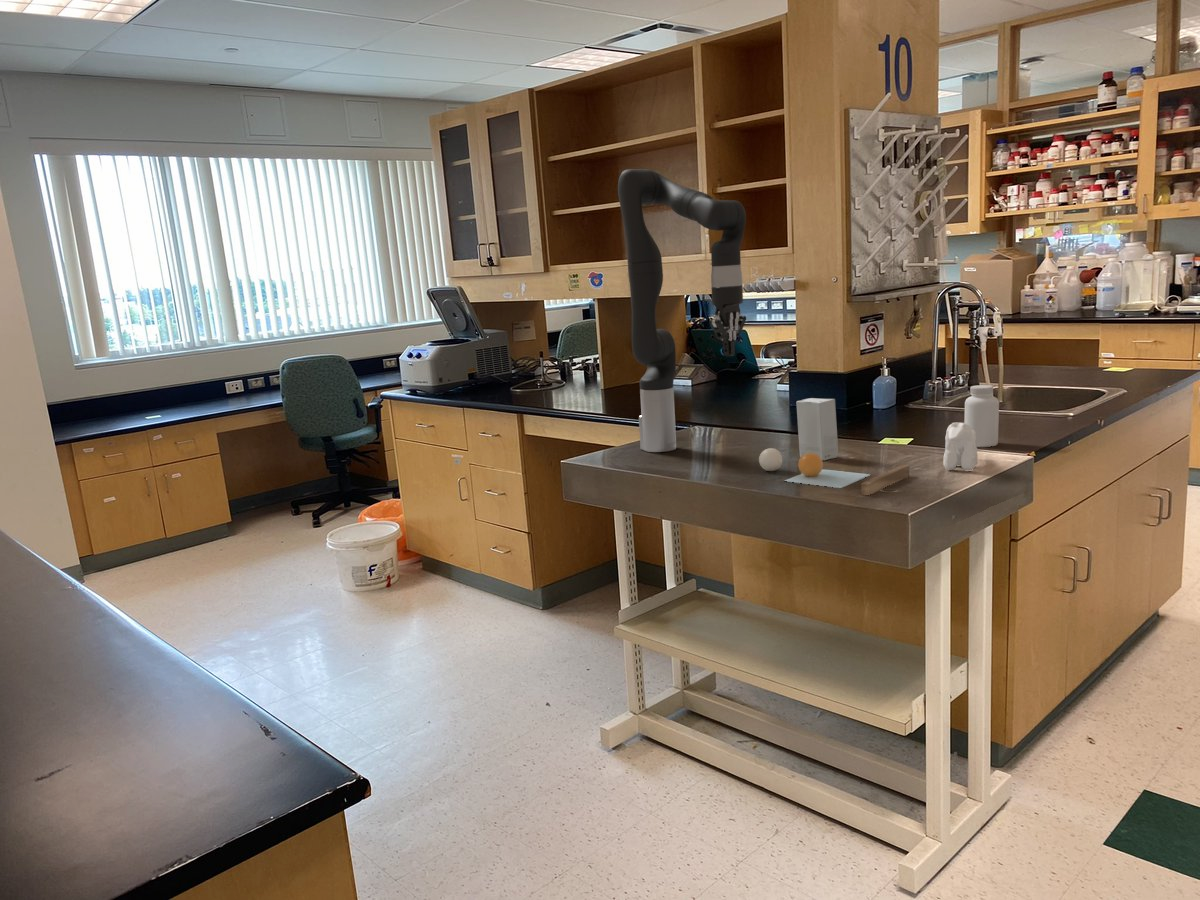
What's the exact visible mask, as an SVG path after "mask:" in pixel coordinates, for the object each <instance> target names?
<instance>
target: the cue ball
mask: <svg viewBox="0 0 1200 900" xmlns="http://www.w3.org/2000/svg"><path fill="white" fill-rule="evenodd" d="M782 455H783V454H782V453H781V452H780V451H779V450H778V449H776V448H774V447H773V448H772V447H769V448H766V449H764V450H762V451H761V453H760V454H759V457H758V462H759V466H760V467H761V468H762V469H763V470H765V471H768V472H774V471H777V470H778V469H779V468H780V467H781V466H782V464H783V456H782Z"/></svg>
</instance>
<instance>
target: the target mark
mask: <svg viewBox="0 0 1200 900" xmlns="http://www.w3.org/2000/svg"><path fill="white" fill-rule="evenodd" d="M871 475H872V474H869V473H860V472H859V473H858V472H853V471H852V472H851V471H841V470H835V469H834V470H833V469H823V468H822V471H821V472H820V473H819V474H818V475H816V476H813V477H808V476H805V475H803V474H802V473H800V474H798V475H795V476H792V477H790V478H787V479H784V481H787V482H786V483H792V482H794V484H800V483H802V485H808V484H810V485H811V486H816V485H819V486H818V487H824V486H827V487H826V488H832V487H833V489H834V488H835V489H844V488H846V487H847V486H850V485H852V484H854V483H856V482H858V481H861V480H863V479H865V477H866V478H867V477H870V476H871Z"/></svg>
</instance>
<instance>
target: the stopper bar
mask: <svg viewBox="0 0 1200 900" xmlns="http://www.w3.org/2000/svg"><path fill="white" fill-rule="evenodd" d="M908 476H909V477H910V464H901V465H899V466H897V467H895V468H892V469H890V470H888V471H886V472H883V473H881V474H879V475H877V476H874V477H873V478H870V479H868V480H865V481H864V482H862V483H861V484H860V485H861V486H860V487H861V492H860V493H861V494H860V495H861V496H865V495H869V496H871V495H873V494H875V493H878V492H879V490H880V491H881V489H882V490H884V489H885V487H886V488H888V487H890V486H891V485H894V484H896V483H898V482H899V480H900V481H902V480H904V479H907V478H908ZM906 477H907V478H906ZM903 478H904V479H903ZM897 481H898V482H897ZM895 482H896V483H895ZM893 483H894V484H893ZM889 485H890V486H889ZM887 486H888V487H887ZM883 488H884V489H883ZM870 494H871V495H870Z"/></svg>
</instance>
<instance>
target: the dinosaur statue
mask: <svg viewBox="0 0 1200 900" xmlns="http://www.w3.org/2000/svg"><path fill="white" fill-rule="evenodd" d="M944 440H945V445H944V446H945V447H944V448H945V450H944V454H943V457H942V458H943V459H942V460H943V463H942V464H943V467H944V468H945V469H946V470H947V469H949V470H951V471H953V470H955V469H956V466H957V465H960V466H961V469H962V470H963V471H965V470H972V469H974V470H975V467H976V466H977V465H978V447H976V444H975V441H976V433H975V431H974V430H972V429H971V427H970V426H969V425H968V424H966V423H964V422H951V424H949V425H948V426H947V429H946V433H945V438H944ZM975 465H976V466H975ZM957 467H958V466H957ZM949 470H948V471H949Z"/></svg>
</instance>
